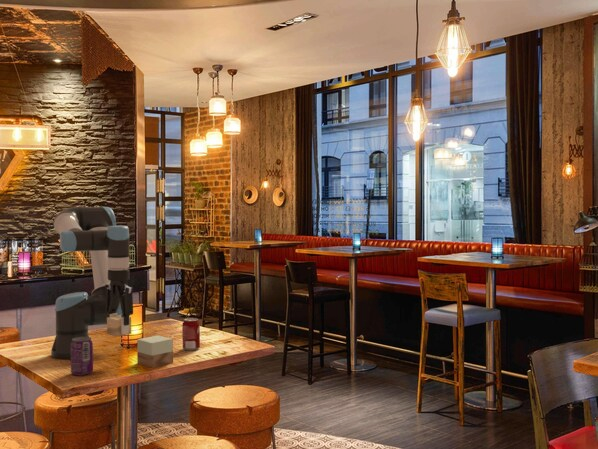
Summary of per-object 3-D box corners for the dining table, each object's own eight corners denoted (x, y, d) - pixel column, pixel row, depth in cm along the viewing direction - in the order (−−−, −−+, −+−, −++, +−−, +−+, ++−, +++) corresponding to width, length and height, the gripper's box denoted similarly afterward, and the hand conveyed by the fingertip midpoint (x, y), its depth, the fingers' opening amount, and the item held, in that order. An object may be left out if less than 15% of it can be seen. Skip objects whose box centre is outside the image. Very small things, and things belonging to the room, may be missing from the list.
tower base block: (153, 368, 219) (152, 355, 219) (137, 364, 225) (137, 351, 225) (173, 363, 226) (173, 350, 226) (157, 359, 232) (157, 347, 232)
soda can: (196, 351, 243) (195, 321, 242) (179, 350, 244) (179, 320, 244) (202, 347, 249) (202, 317, 249) (186, 346, 251) (186, 317, 250)
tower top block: (151, 355, 219) (151, 343, 219) (137, 351, 225) (137, 339, 225) (173, 351, 226) (172, 338, 226) (158, 347, 232) (158, 335, 232)
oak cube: (117, 336, 220) (116, 319, 220) (107, 334, 224) (106, 317, 223) (131, 333, 225) (131, 317, 224) (121, 331, 228) (121, 315, 228)
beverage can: (95, 370, 216) (95, 336, 215) (89, 376, 209) (88, 340, 208) (75, 370, 216) (74, 336, 215) (68, 376, 208) (67, 341, 208)
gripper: (143, 270, 220) (144, 334, 221) (111, 265, 232) (112, 327, 233) (125, 272, 214) (126, 338, 215) (94, 267, 226) (94, 330, 227)
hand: (119, 332), depth 224 cm, fingers closed on oak cube, 6 cm apart
